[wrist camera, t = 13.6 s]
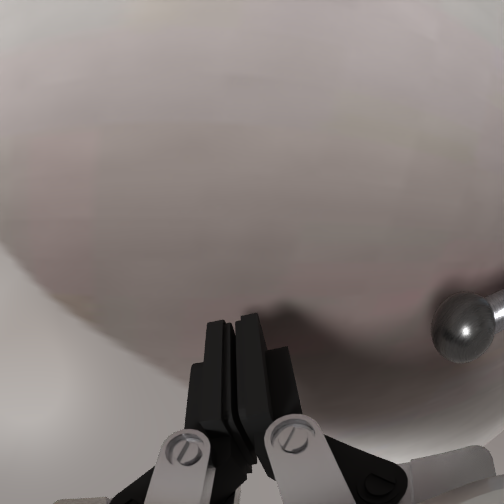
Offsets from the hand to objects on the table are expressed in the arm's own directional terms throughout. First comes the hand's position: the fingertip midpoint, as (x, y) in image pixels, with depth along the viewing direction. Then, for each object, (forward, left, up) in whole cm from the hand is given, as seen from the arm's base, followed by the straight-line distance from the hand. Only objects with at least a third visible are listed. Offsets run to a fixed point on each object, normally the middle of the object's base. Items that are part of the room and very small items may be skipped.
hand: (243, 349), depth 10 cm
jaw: (0, +12, 0) cm, 12 cm away
